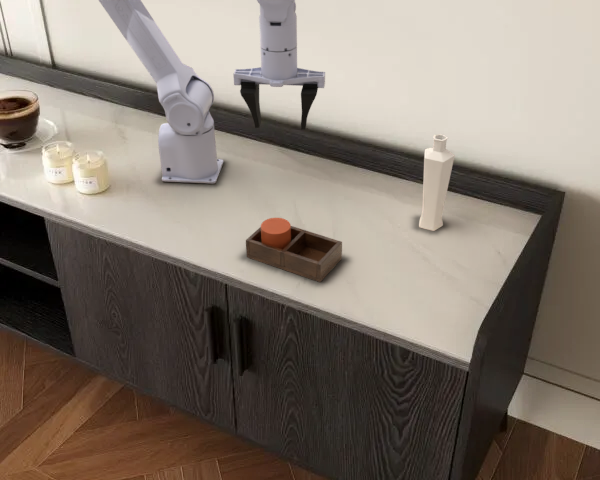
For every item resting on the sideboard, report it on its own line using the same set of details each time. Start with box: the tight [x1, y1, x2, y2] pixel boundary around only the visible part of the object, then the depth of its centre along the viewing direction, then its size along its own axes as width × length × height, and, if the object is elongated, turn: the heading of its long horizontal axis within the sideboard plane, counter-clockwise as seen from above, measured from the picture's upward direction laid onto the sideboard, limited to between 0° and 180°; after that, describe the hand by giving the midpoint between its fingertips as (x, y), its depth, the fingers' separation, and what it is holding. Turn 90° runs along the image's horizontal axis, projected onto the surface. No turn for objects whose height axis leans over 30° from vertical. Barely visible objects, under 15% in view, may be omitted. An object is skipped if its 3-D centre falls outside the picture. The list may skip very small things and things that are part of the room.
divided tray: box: [245, 225, 343, 283], centre depth 113 cm, size 13×7×3 cm, turn 60°
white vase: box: [418, 133, 455, 232], centre depth 116 cm, size 5×4×15 cm
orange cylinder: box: [260, 217, 292, 250], centre depth 113 cm, size 4×4×4 cm
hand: (280, 126), depth 127 cm, fingers open, 7 cm apart
